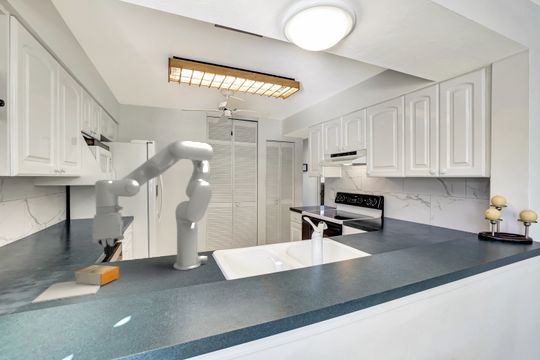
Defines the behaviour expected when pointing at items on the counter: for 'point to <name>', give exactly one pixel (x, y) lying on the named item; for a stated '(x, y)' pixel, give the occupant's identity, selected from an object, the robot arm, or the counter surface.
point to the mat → (66, 291)
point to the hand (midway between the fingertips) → (109, 255)
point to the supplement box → (97, 274)
